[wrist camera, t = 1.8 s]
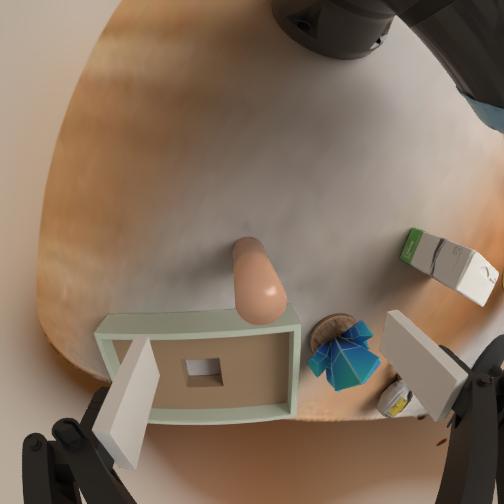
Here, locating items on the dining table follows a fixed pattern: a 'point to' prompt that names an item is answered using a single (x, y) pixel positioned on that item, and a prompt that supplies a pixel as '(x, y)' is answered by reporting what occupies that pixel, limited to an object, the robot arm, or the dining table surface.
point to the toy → (394, 398)
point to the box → (206, 347)
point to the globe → (491, 358)
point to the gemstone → (342, 351)
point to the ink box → (451, 265)
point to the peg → (256, 284)
